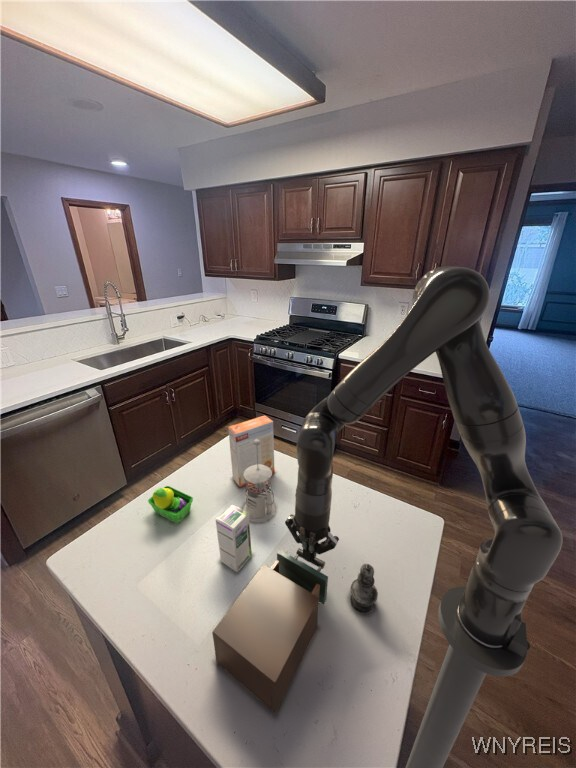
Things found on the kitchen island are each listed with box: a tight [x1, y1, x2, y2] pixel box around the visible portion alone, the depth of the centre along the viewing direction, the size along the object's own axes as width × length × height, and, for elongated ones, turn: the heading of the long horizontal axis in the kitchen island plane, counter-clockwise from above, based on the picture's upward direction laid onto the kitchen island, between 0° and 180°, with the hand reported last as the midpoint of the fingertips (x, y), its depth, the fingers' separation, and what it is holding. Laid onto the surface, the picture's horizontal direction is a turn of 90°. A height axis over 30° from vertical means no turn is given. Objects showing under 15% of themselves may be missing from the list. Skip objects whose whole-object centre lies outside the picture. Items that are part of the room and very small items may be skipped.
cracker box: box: [227, 414, 275, 488], centre depth 105 cm, size 14×6×21 cm, turn 124°
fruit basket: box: [147, 485, 194, 524], centre depth 91 cm, size 11×9×11 cm
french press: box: [242, 439, 276, 524], centre depth 89 cm, size 10×12×25 cm
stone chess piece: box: [350, 563, 379, 615], centre depth 68 cm, size 6×6×12 cm
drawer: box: [270, 547, 329, 605], centre depth 67 cm, size 19×12×8 cm, turn 148°
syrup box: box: [215, 504, 253, 573], centre depth 77 cm, size 6×6×14 cm
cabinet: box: [212, 563, 320, 715], centre depth 60 cm, size 16×14×10 cm
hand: (309, 558), depth 73 cm, fingers closed
